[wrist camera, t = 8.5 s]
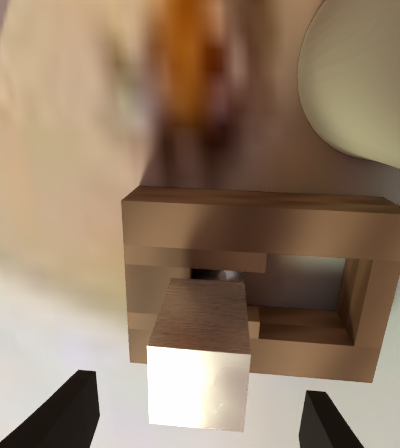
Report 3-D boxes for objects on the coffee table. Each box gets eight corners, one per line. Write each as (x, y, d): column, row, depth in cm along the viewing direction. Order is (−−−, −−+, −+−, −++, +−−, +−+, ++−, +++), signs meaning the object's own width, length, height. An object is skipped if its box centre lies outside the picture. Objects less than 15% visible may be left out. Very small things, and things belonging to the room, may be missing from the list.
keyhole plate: (383, 197, 18) (414, 214, 15) (351, 344, 22) (372, 382, 19) (138, 186, 19) (121, 200, 16) (143, 327, 23) (130, 362, 20)
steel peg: (244, 243, 20) (257, 350, 11) (240, 300, 21) (248, 436, 12) (180, 239, 20) (141, 340, 11) (179, 296, 22) (144, 426, 13)
